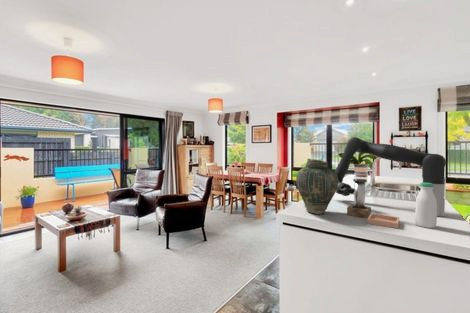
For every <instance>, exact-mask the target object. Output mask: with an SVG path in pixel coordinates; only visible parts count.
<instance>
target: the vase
mask: <svg viewBox="0 0 470 313" xmlns="http://www.w3.org/2000/svg"><path fill="white" fill-rule="evenodd" d="M295 181H296V182H295V184H296V187H297V190H298V192H299V195H300V197H301V199H302V201H303V203H304V208H305V209H306V212H309V213H311V214H316V215H322V214H324V213H325V212H326V210H328V206H329V205H330V203H331V201H332V199H333V197H334V196H335V194H336V189H337V187H338V176H337V174H336V172H335V170H333V169H332V168H330V167H329V164H328V161H324V160H321V159H311V158H307V162H306V164H305V166H304V167H303V168H302V167H301V169H299V170H298V172H297V174H296V178H295Z"/></svg>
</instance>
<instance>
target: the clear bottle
mask: <svg viewBox="0 0 470 313" xmlns="http://www.w3.org/2000/svg"><path fill="white" fill-rule="evenodd" d="M352 181H353V182H354V189H355V192H354V194H353V198H354V199H353V200H354V201H353V205H354V208H359V209H364V208H365V206H366V205H365V204H366V203H365V202H366V201H365V200H366V183H367V182H368V180H367V179H365V178H353V180H352Z"/></svg>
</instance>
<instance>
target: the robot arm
mask: <svg viewBox="0 0 470 313" xmlns="http://www.w3.org/2000/svg"><path fill="white" fill-rule="evenodd" d="M356 153H362V154H368V155H372V156H375V157H377V158H381V159H384V160H387V161H392V162H395V163H396V162H398V163H405V164H406V163H407V164H413V165H418V166H420V167H421V168H422V170H421V173H422V174H421V177H422V183H432V184H433V189H432V191H433V194H434V196H435V198H436V201H437V217H441V218H442V217H443V218H444V217H445V206H446V199H445V192H446V190H445V187H446V185H445V184H446V178H445V176H446V175H445V173H446V172H445V167H446V165H447V160H446V158H445V157H444V156H443V155H441V154H438V153H428V152H421V151H416V150H413V149H411V148H410V149H409V148H405V147H402V146H399V145H394V144H388V143H375V142H374V143H373V142H370V141H366V140H363V139H361V138H359V137H356V136H354V137H350V138H349V139H348V140H347V143H346V145H345V148H344V151H343V154H342V156H341V158H340V160H339V162H338V164H337V166H336V168H335V170H334V171H335V172H336V174H337V176H338V187H337V189H336V192H335V194H338V195H341V196H343V197H348V196H351V195H354V192H355V187H354V188H353V187H352V186H351V185H350V184H348V183H346V182H345V183H344V182H343V180H344V179H345V178H344V177H346V174H347V172H348V171H349V169H350V164H351V162H352V159H353V156H354V155H355V154H356Z"/></svg>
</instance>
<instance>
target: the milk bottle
mask: <svg viewBox="0 0 470 313" xmlns="http://www.w3.org/2000/svg"><path fill="white" fill-rule="evenodd" d="M419 187H420V191H419V193H418V194H417V196H416V200H415V211H414V212H415V215H414V216H415V217H414V223H415V225H416V226H418V227H420V228H428V229H435V228H437V218H438V216H437V201H436V198H435V196H434V194H433V191H432V189H433V184H432V183H423V182H420V186H419Z"/></svg>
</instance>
